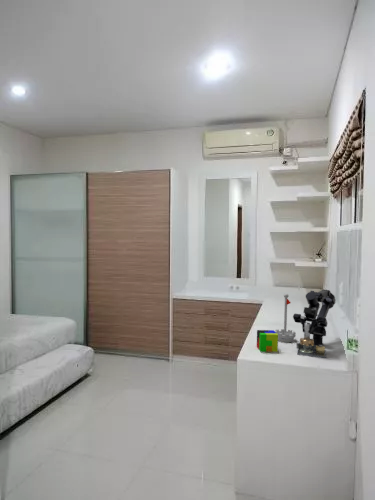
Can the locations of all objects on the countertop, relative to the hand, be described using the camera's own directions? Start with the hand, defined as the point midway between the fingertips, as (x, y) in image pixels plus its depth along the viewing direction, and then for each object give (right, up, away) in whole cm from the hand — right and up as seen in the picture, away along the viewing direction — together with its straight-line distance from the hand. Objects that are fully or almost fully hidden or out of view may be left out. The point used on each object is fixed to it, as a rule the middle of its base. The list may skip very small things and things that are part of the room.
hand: (306, 332), depth 214 cm
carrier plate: (+3, -12, 0) cm, 13 cm away
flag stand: (-5, -11, +28) cm, 30 cm away
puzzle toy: (-21, -12, +7) cm, 25 cm away
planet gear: (+1, -7, +1) cm, 7 cm away
